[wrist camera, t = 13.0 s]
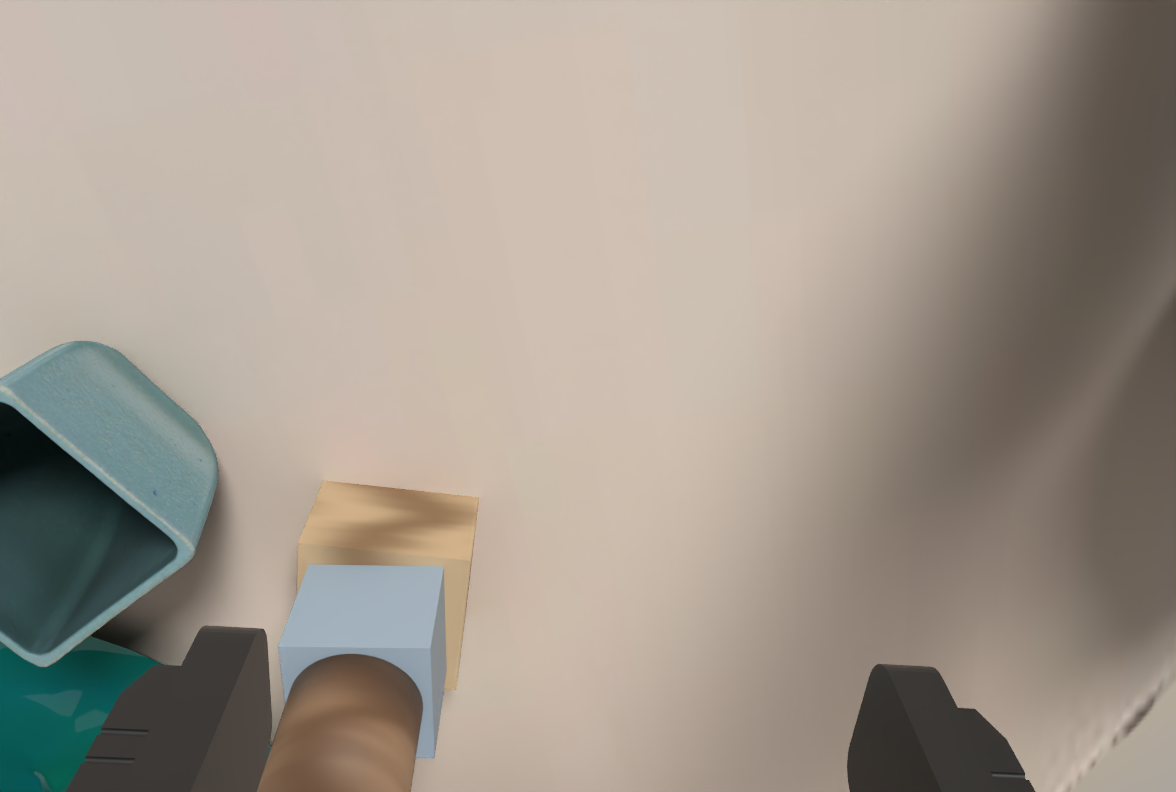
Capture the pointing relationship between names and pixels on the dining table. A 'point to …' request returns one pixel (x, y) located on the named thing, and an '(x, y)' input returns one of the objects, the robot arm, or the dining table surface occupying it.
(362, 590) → the mid block
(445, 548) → the base block
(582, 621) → the dining table surface
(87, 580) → the flower pot
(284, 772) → the brown rounded cylinder
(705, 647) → the dining table surface
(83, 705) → the sailing ship model
